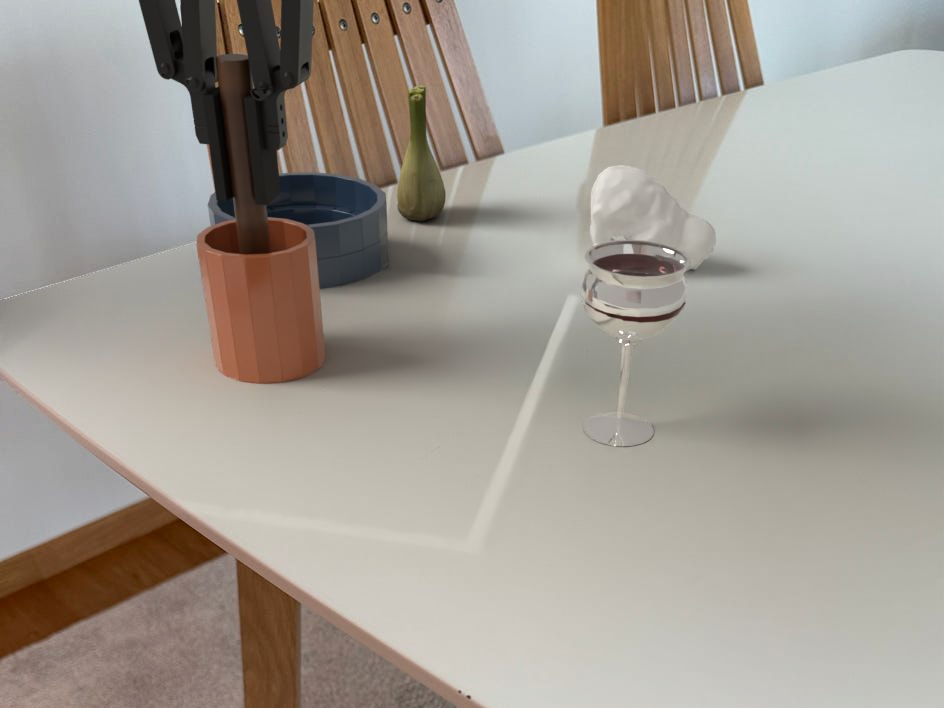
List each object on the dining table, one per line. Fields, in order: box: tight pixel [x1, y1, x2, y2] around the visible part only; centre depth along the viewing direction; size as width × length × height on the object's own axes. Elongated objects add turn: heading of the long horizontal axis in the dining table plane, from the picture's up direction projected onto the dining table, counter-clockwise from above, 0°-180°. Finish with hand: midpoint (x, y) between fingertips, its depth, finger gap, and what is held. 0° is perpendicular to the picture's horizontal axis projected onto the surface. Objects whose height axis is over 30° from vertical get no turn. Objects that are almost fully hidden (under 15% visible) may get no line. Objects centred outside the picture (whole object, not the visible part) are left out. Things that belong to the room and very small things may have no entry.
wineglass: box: [581, 239, 690, 447], centre depth 70 cm, size 7×7×12 cm
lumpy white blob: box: [589, 164, 717, 272], centre depth 95 cm, size 6×8×12 cm
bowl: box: [207, 171, 390, 290], centre depth 95 cm, size 16×16×6 cm
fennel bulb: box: [396, 85, 447, 222], centre depth 104 cm, size 6×5×12 cm
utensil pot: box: [195, 217, 326, 385], centre depth 77 cm, size 8×8×10 cm
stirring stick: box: [215, 53, 271, 255], centre depth 73 cm, size 3×2×20 cm
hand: (249, 196), depth 72 cm, fingers closed on stirring stick, 2 cm apart
